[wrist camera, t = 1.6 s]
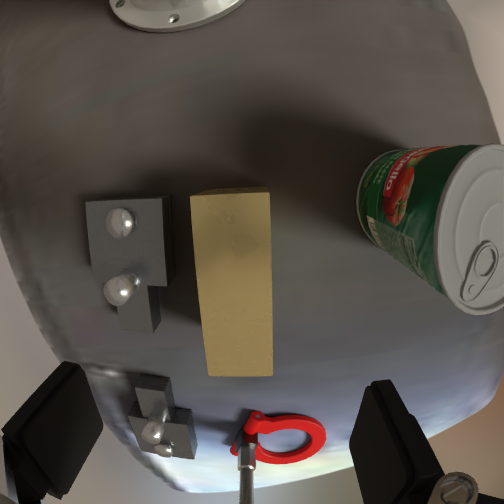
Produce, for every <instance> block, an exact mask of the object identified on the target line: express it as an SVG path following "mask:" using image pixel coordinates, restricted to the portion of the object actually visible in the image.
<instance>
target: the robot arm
mask: <svg viewBox="0 0 504 504" xmlns="http://www.w3.org/2000/svg"><path fill="white" fill-rule="evenodd" d="M244 1H245V0H109V3H110V6H111V8H112V10H113V12H114V13H115V14H116V15H117V16H118V17H119V18H120V19H121V20H122V21H123V22H125V23H126V24H127V25H129V26H131V27H134V28H136V29H138V30H143V31H148V32H163V33H165V32H175V31H182V30H186V29H191V28H196V27H198V26H201V25H204V24H207V23H210V22H212V21H214V20H216V19H218V18H221V17H223V16H225V15H227V14H228V13H230V12H231V11H233V10H234V9H236V8H237V7H239V6H240V5H241V4H242V3H243V2H244ZM176 21H177V22H176ZM1 430H2V432H3V433H4V435H3V436H2V437H1V435H0V504H47V503H46V500H45V495H46V493H48V494H49V495H51V496H54V497H55V498H58V499H60V500H61V498H62V497H63V495H64V494H67V493H68V492H69V490H70V488H71V486H72V484H73V483H74V481H75V479H76V477H77V475H78V473H79V471H80V470H81V468H82V466H83V464H84V462H85V461H86V459H87V457H88V455H89V453H90V452H91V450H92V448H93V446H94V444H95V443H96V441H97V439H98V437H99V436H100V434H101V432H102V430H103V421H102V419H101V416H100V414H99V411H98V409H97V406H96V403H95V401H94V398H93V395H92V392H91V389H90V386H89V384H88V381H87V377H86V374H85V372H84V370H83V369H82V368H81V366H80V365H79V364H76V363H71V362H67V361H64V362H62V363H61V364H60V365H59V366H58V367H57V368H56V369H55V370H54V371H53V373H52V374H51V375H50V376H49V377H48V378H47V379H46V380H45V381H44V382H43V383H42V384H41V385H40V386H39V387H38V389H37V390H36V391H35V392H34V393H33V394H32V395H31V396H30V397H29V398H28V400H27V401H26V402H25V403H24V404H23V405H22V406H21V408H19V410H18V411H17V412H16V413H15V414H14V415H13V416H12V417H11V419H10V420H9V421H8V422H7V423H6V424H5V426H4V427H3V428H2V429H1ZM349 448H350V452H351V456H352V459H353V463H354V467H355V471H356V474H357V478H358V482H359V486H360V490H361V494H362V498H363V502H364V504H504V499H500V498H496V497H492V496H488V495H485V494H481V493H478V490H479V489H478V485H477V483H476V481H475V479H474V478H473V477H471V476H470V475H468V474H465V473H463V472H452V473H448V474H446V475H445V474H444V472H443V470H442V468H441V466H440V464H439V462H438V460H437V458H436V456H435V454H434V452H433V450H432V448H431V446H430V444H429V442H428V440H427V438H426V437H425V435H424V433H423V431H422V429H421V427H420V425H419V423H418V422H417V420H416V418H415V417H414V416H413V415H412V414H409V412H408V410H407V408H406V407H405V405H404V403H403V401H402V399H401V397H400V396H399V394H398V392H397V390H396V388H395V387H394V385H393V383H392V381H391V380H389V379H388V380H380V381H373V382H372V383H371V385H370V386H367V387H366V389H365V392H364V396H363V399H362V402H361V406H360V409H359V412H358V416H357V419H356V422H355V425H354V428H353V431H352V434H351V437H350V441H349Z"/></svg>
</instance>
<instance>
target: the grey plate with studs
mask: <svg viewBox="0 0 504 504" xmlns="http://www.w3.org/2000/svg"><path fill="white" fill-rule="evenodd" d="M85 204H86V218H87V230H88V240H89V249H90V257H91V264H92V271H93V278H94V282H100V283H106V284H105V286H104V290H103V291H104V296H105V298H106V299H107V301H108V302H109V303H111V304H112V305H115V306H117V311H118V316H119V322H120V327H121V330H128V331H137V332H146V333H154V331H155V330H156V328H157V327H158V325H159V323H160V322H161V318H160V310H159V301H158V292H157V286H168V285H169V283H170V282H171V281H172V279H173V278H174V277H175V262H174V245H173V224H172V195H170V196H140V197H119V198H101V199H96V200H92V201H87V202H85ZM135 391H136V394H137V398H138V401H139V402H134V404H133V406H132V408H131V410H130V412H129V414H128V418H129V421H130V423H131V426H132V429H133V432H134V434H135V437H136V439H137V442H138V444H139V447H140V449H141V451H144V452H149V453H155V454H158V455H160V456H162V457H171V456H172V457H179V458H186V459H195V454H196V449H197V440H196V434H195V429H194V423H193V417H192V411H191V410H190V409H181V408H175V403H174V398H173V393H172V388H171V382H170V378H166V377H158V376H150V375H143V374H141V376H140V378H139V380H138V382H137V384H136V385H135Z"/></svg>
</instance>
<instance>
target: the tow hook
mask: <svg viewBox="0 0 504 504" xmlns="http://www.w3.org/2000/svg"><path fill="white" fill-rule="evenodd" d="M282 429H299V430H303V431H305V432H307V433H308V434H310V436H311V439H310V441H309V443H308V444H307V445H306V446H304V447H303V448H301V449H299V450H297V451H294V452H290V453H272V452H269V451H267V450H265V449H263V448H262V447H261V446H260V443H259V442H258V433H262V434H270V433H271V432H274V431H277V430H282ZM325 441H326V433H325V429H324V427H323V426H322V424H321V423H320V422H318V421H317V420H315V419H313V418H310V417H307V416H301V415H283V416H277V417H272V418H271V417H266V416H264V414H263V413H261V412H259V411H254V412H252V413H251V415H250V417H249V419H248V420H247V422H246V424H245V425H243V427H242V428H241V430H240V432H239V433H238V435H237V437H236V440H235V442H234V443H233V445H232V447H231V448H230V452H231V453H232V454H233V455H235V456H238V470H239V471H240V502H239V504H254V487H253V471H254V470H255V468H256V459H257V460H258V461H262V462H265V463H270V464H289V463H294V462H298V461H301V460H304V459H306V458H308V457H310V456H312V455H314V454H315V453H316V452H318V451H319V450H320V449H321V448H322V447H323V445H324V443H325Z"/></svg>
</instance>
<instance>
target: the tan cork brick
mask: <svg viewBox="0 0 504 504" xmlns="http://www.w3.org/2000/svg"><path fill="white" fill-rule="evenodd" d="M190 204H191V218H192V231H193V244H194V255H195V266H196V276H197V286H198V295H199V304H200V313H201V321H202V329H203V337H204V345H205V352H206V359H207V366H208V373H209V376H273V339H272V267H271V223H270V192H269V190H268V187H242V188H220V189H208V190H205V191H203V192H200V193H197V194H195V195H192V196H190Z"/></svg>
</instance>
